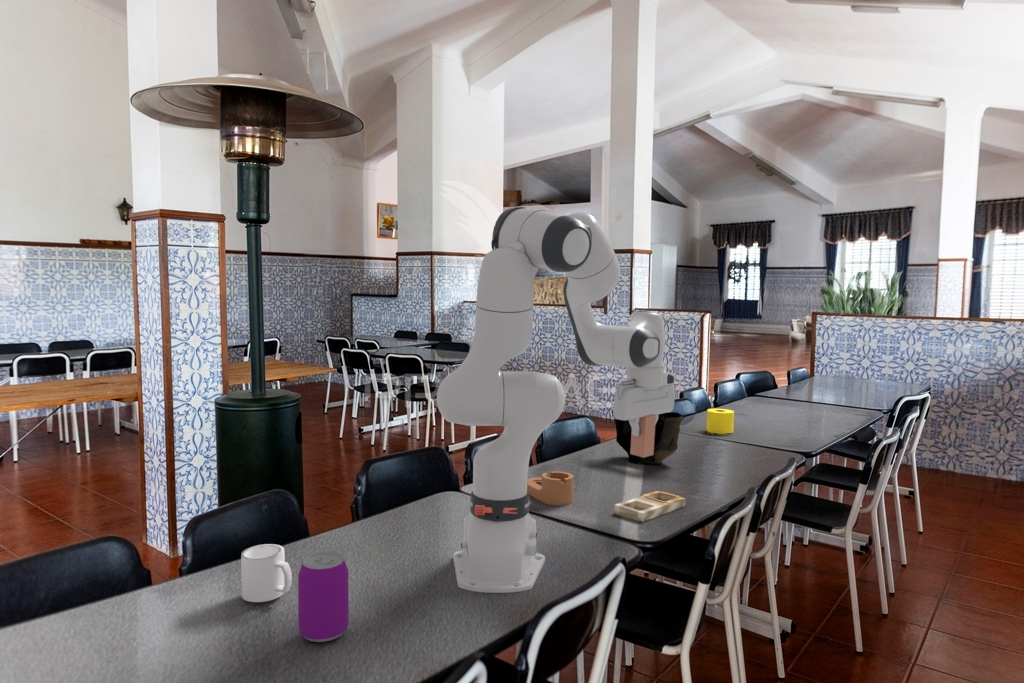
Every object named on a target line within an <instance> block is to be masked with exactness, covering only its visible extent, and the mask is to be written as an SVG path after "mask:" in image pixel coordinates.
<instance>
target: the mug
mask: <svg viewBox="0 0 1024 683" xmlns="http://www.w3.org/2000/svg"><path fill="white" fill-rule="evenodd" d="M285 552H286V551H285V547H283V546H282V545H280V544H275V543H264V544H257V545H253V546H250V547H248V548H245V549H244V550H242V551H241V556H240V558H241V559H240V561H241V564H240V566H241V568H240V569H241V570H240V572H241V598H242V599H243V600H244V601H247V602H249V603H250V602H251V603H264V602H270V601H273V600H276V599H277V598H280V597H282V595H284V594H285V593H287V592H289V591H290V590H291V586H292V584H293V583H292V582H293V577H292V576H293V575H292V569H291V567H290V564H289V562H287V561H286V560H285Z"/></svg>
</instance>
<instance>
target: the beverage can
mask: <svg viewBox="0 0 1024 683" xmlns="http://www.w3.org/2000/svg"><path fill="white" fill-rule="evenodd" d="M297 580H298V581H297V586H298V587H297V595H298V596H297V598H298V599H297V600H298V601H297V603H298V606H297V607H298V610H297V612H298V614H297V616H298V619H297V621H298V631H299V634H300V635H301V636H302V637H303V638H305V639H306V640H307V641H310V642H313V643H314V642H315V643H325V642H328V641H329V642H330V641H333V640H336V639H337V638H339V637H341V636H342V634H344V633H345V631H346V630H347V629H348V626H349V620H350V619H349V618H350V617H349V614H350V613H349V606H350V604H349V595H350V594H349V593H350V592H349V568H348V566H347V564H346V560H345V557H344V556H343V554H342V553H340V552H336V551H328V550H327V551H319V552H315V553H314V552H313V553H311V554H308V555H307V556H305V557H303V561H302V564H301V566H300V569H299V572H298V575H297Z"/></svg>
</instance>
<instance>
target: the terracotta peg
mask: <svg viewBox="0 0 1024 683" xmlns="http://www.w3.org/2000/svg"><path fill="white" fill-rule="evenodd" d="M655 421H656V415H650V416H645V417H641V418H640V419H639V422H638V425H639V428H641V435H639V436H633V435H632V432H631V449H630V454H632V455H636V456H640V457H643V458H644V457H648V456H652V455H653V453H654V437H655Z"/></svg>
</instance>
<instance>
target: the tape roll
mask: <svg viewBox="0 0 1024 683" xmlns="http://www.w3.org/2000/svg"><path fill="white" fill-rule="evenodd" d="M734 420H735V411H734V410H732V409H726V408H708V409H707V410H706V432H707V431H708V432H707V433H709V432H710V433H709V434H714V433H717V434H716V435H726V434H725V433H732V432H733V433H734V423H735V422H734ZM733 433H732V434H733Z"/></svg>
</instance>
